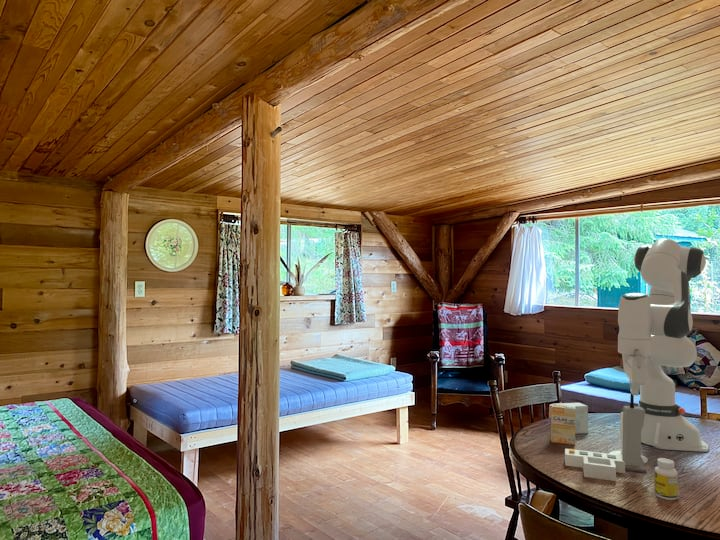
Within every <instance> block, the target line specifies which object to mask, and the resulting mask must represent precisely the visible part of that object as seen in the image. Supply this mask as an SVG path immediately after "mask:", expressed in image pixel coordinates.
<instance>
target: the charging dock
mask: <svg viewBox="0 0 720 540" xmlns="http://www.w3.org/2000/svg"><path fill="white" fill-rule="evenodd" d="M564 465H565V466H567V467H573V468H582V470H583V476H584V478H589V479H590V478H591V479H596V480H597V479H598V480H605V481H611V482H617V473H620V474H626V471H630V472H638V473H644V474H646V473H647V469H645V468H638V467H629V466H626V464H625V463H624V461H623V460H622V455H615V454H609V453H606V452H597V451H591V450H589V451H588V450H581V449H574V448H565V449H564Z"/></svg>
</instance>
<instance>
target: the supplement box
mask: <svg viewBox="0 0 720 540" xmlns="http://www.w3.org/2000/svg"><path fill="white" fill-rule="evenodd" d="M550 417H551V419H550V420H551V421H550V422H551V423H550V425H551V426H550V427H551V428H550V442H551V443H557V444H562V445H563V444H565V445H573V446H575V445H576V434H575V423H576V408H575V406H567V405H557V404H555V403H551V416H550Z"/></svg>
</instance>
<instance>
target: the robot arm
mask: <svg viewBox="0 0 720 540" xmlns="http://www.w3.org/2000/svg"><path fill="white" fill-rule="evenodd" d="M633 263H634V267H635V269H636V270H637V271H638V272H640V275H641V277H642V280H643V281H644V282H645V284H647V285H649V286H650V290H649V294H646V293H643V292H629V293H625V294H622V295H621V296H620V299H619V303H618V313H617V323H618V324H617V325H618V327H619V328H618V329H619V331H618V335H617V352H618V353H619V354H621V357H622V359H621V360H622V367H623V372H624V374H625V375H626V377H627V378H628V379H629V381H628V382H629V387H630V388H629V390H630V391H629V392H630V394H631V393H632V395H633V396H639V397H640V399H639V401H638V405H637V407H642V408H643V409H644V410H645V416H644V425H643V428H642V429H641V444H645V445H648V446H652V447H654V448H656V449H659V450H672V451H686V452H688V451H689V452H702V453H703V452H705V453H706V452H708V451H709V449H710V448H709V445H708V444H707V442H705V441H704V440H702V438H701V433H700V431H699V429H698V427H696V426H695V425H694V424H693V423H692V422H691V421H689V420H688V418H686V417H684V416H683V415H685V414H686V409H685V408H683V407H682V406H680V405H678V404H676V383H675V382H674V380H673V379H672V378H671V377H669V376H668V375H667V374H666V373H665V372H664V370H663V368H662V366H665V367H671V368H688V367H691V366H692V365H693V364H694V363H695V361H696V359H697V356H698V350H697V347H696V345H695V344H694V343H693V341H692V340H691V339H689V337H687V336H688V335H689V334H690V333H691V332H692V329H693V326H694V325H693V324H694V323H693V322H694V321H693V314H692V312H691V311H692V310H691V293H690V292H691V291H690V281H691V279H694V278H697V277H698V276H699V275H700V274H702V273H703V271H704V269H705V267H706V256H705V253H704V251H703V250H702V249H701V248H697V247H694V246H691V247H689V246H682V245H680V244H679V243H678V242H677V241H675V240H673V239H671V238H660V239H658V240H656V241H654V242H653V243H652V244H645V245H644V244H643V245H640V246H639V247H638V248H637V249H636V251H635V254H634V257H633Z"/></svg>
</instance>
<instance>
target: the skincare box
mask: <svg viewBox="0 0 720 540" xmlns="http://www.w3.org/2000/svg"><path fill="white" fill-rule="evenodd" d="M554 404H557V405H567V406H575V408H576V423H575V435H576V434H577V435H578V434H589V416H588V415H589V407H588V405H586V404H585V403H582V402H563V403H561V402H560V403H558V402H557V403H554Z"/></svg>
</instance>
